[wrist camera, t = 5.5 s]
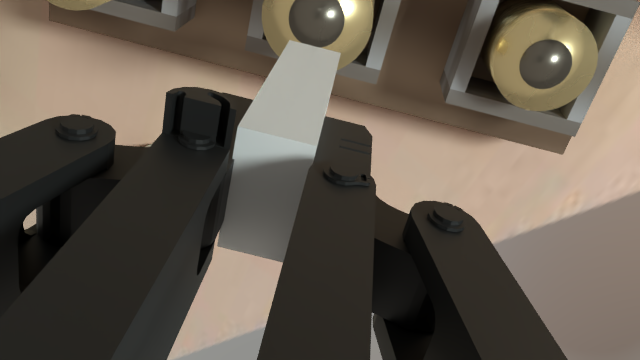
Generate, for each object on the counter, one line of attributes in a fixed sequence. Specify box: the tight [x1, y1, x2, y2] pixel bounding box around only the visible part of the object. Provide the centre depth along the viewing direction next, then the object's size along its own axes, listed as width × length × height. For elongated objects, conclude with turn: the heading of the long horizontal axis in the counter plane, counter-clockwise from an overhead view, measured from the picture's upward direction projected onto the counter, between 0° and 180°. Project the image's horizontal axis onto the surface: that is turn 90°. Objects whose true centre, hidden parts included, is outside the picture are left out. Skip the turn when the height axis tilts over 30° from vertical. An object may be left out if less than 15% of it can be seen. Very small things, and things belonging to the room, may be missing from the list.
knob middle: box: [262, 0, 375, 70], centre depth 27 cm, size 5×5×5 cm
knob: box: [480, 0, 598, 111], centre depth 30 cm, size 5×5×5 cm
